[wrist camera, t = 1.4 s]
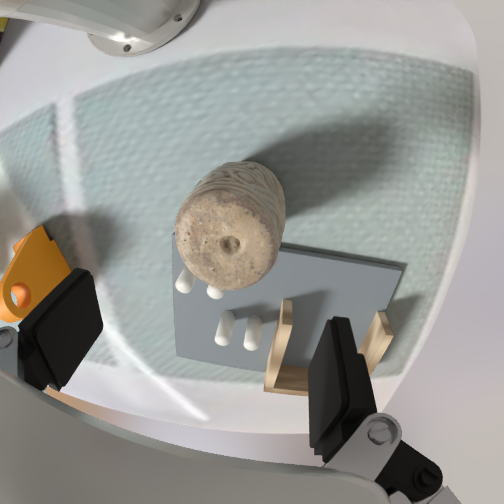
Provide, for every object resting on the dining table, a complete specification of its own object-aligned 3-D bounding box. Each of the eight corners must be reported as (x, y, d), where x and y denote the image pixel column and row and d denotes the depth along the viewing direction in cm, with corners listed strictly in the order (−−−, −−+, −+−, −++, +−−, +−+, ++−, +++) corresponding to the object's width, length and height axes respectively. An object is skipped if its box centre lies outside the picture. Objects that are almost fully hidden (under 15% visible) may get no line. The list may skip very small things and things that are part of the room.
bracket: (23, 239, 32) (-31, 280, 21) (45, 222, 30) (-17, 266, 19) (57, 298, 36) (13, 348, 25) (83, 289, 34) (34, 346, 23)
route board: (175, 230, 29) (157, 252, 24) (399, 266, 28) (415, 292, 23) (178, 350, 37) (168, 377, 32) (347, 374, 36) (352, 402, 32)
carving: (247, 139, 24) (220, 158, 13) (301, 202, 26) (314, 266, 15) (197, 184, 26) (142, 235, 16) (250, 240, 28) (230, 320, 18)
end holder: (282, 299, 30) (282, 324, 26) (384, 312, 30) (394, 335, 26) (265, 367, 35) (263, 391, 32) (351, 375, 35) (355, 398, 31)
